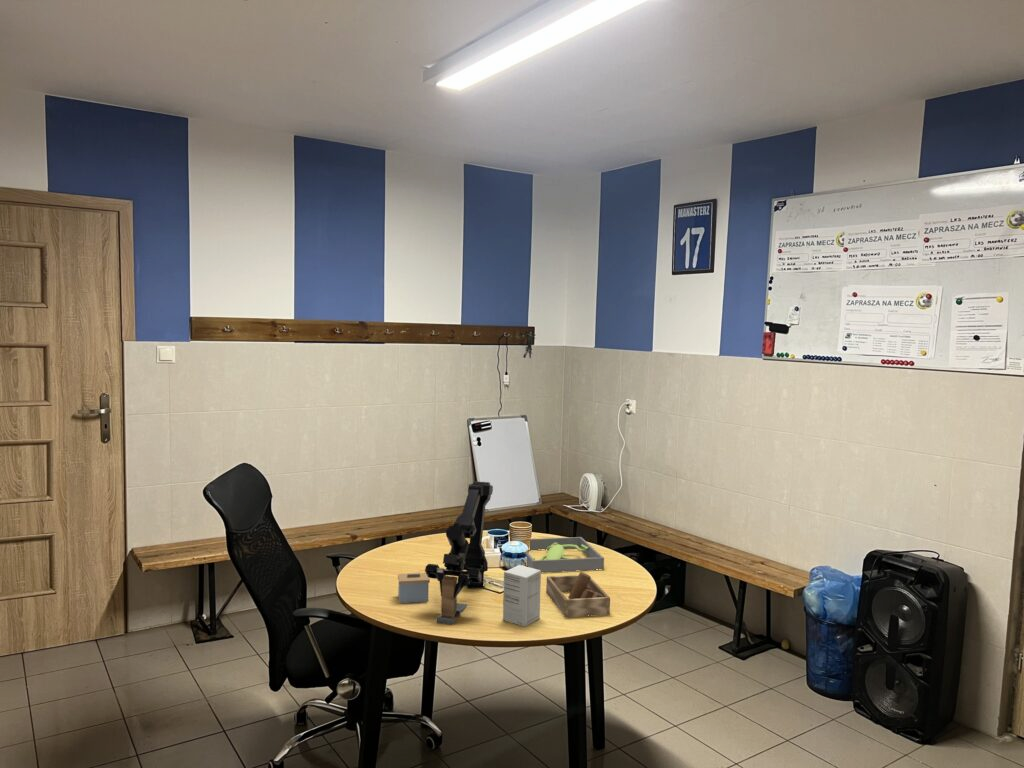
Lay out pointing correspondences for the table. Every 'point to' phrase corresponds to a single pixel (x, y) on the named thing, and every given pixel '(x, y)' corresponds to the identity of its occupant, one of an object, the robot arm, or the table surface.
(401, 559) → the table surface
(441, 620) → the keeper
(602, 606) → the block corral
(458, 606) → the pad
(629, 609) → the table surface
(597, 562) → the tray
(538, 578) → the supplement box
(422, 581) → the toolbox
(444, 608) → the brown block
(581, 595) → the wooden block set
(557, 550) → the figurine
